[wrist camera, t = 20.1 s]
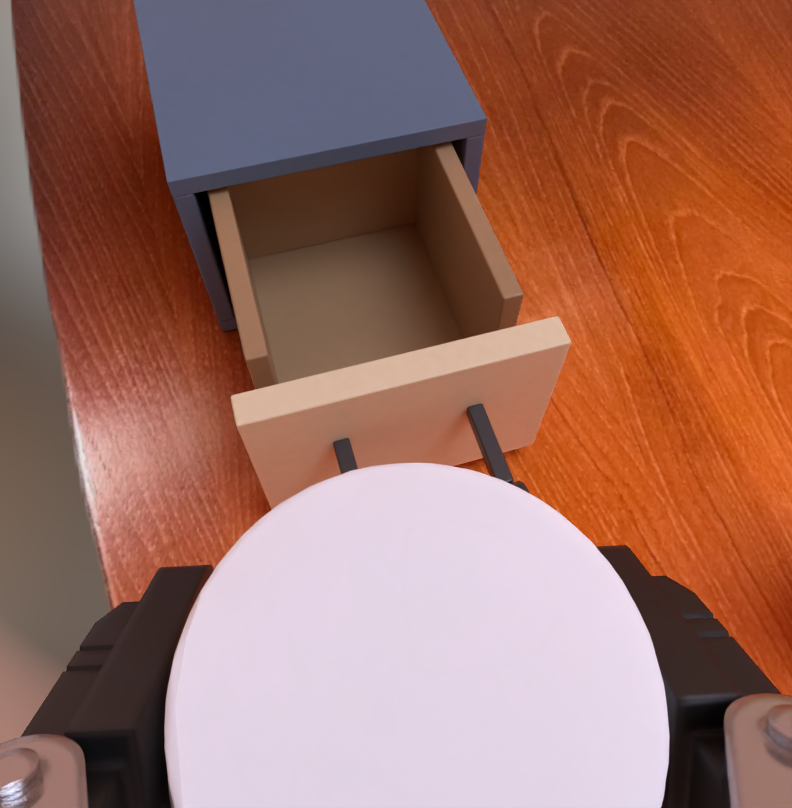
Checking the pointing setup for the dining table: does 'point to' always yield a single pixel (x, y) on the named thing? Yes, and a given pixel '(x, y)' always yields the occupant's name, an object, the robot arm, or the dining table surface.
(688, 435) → the dining table surface
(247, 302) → the drawer
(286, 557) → the pill bottle
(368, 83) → the cabinet
